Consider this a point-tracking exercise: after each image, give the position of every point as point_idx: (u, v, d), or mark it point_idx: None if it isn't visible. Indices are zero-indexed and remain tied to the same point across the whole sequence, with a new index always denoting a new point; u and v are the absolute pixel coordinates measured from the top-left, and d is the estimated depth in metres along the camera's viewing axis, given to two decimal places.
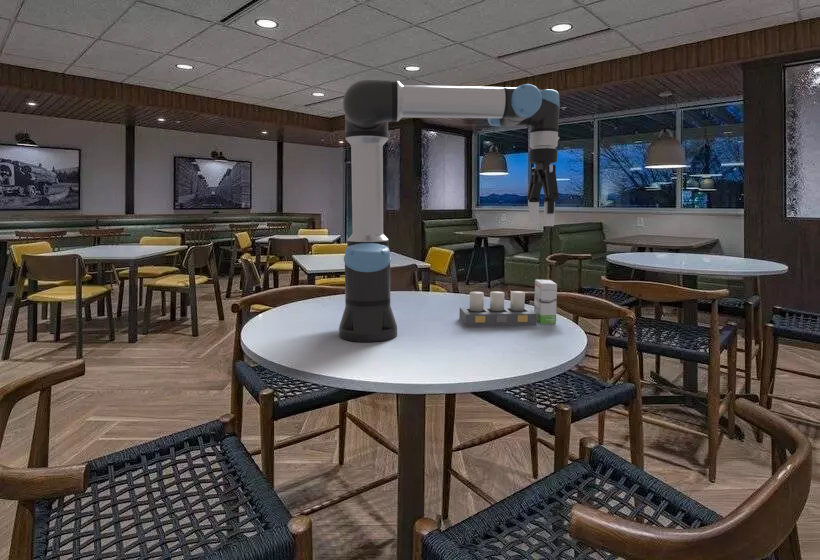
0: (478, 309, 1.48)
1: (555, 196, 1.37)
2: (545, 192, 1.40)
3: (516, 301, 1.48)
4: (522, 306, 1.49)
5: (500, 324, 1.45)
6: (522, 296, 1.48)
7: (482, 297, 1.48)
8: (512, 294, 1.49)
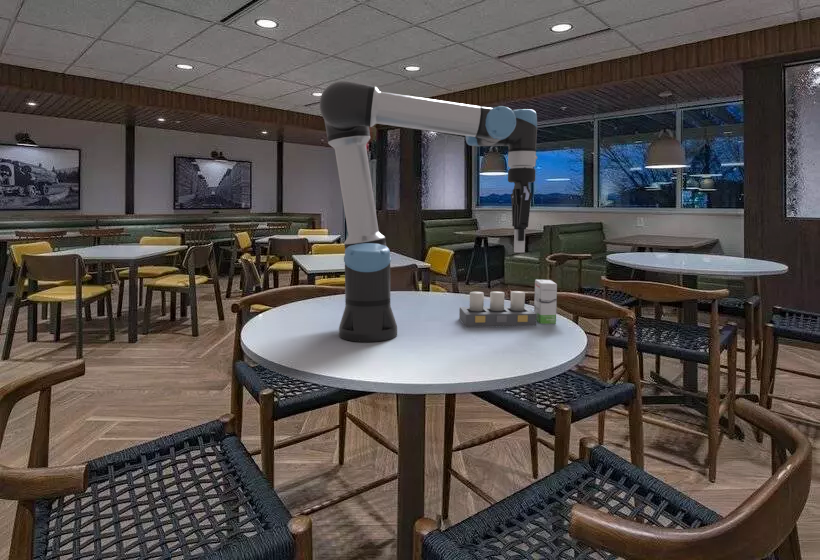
0: (478, 309, 1.48)
1: (525, 226, 1.44)
2: (517, 219, 1.45)
3: (516, 301, 1.48)
4: (522, 306, 1.49)
5: (500, 324, 1.45)
6: (522, 296, 1.48)
7: (482, 297, 1.48)
8: (512, 294, 1.49)
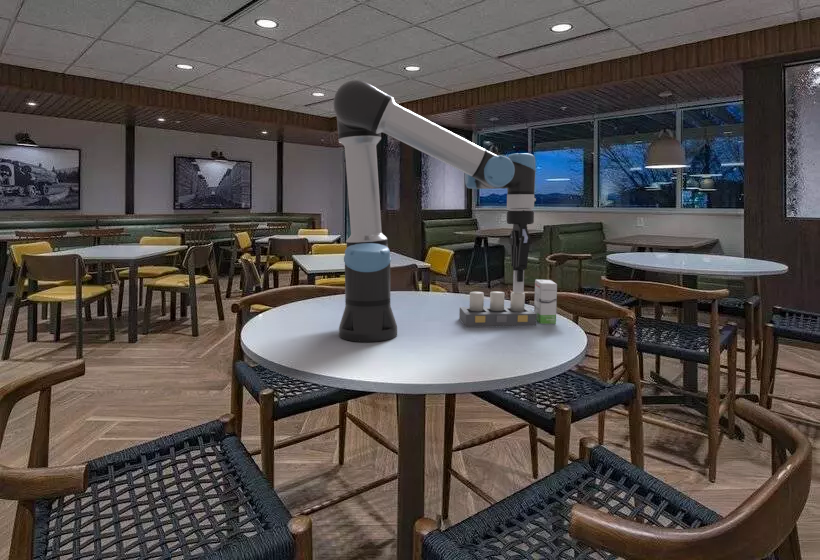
0: (478, 309, 1.48)
1: (523, 268, 1.45)
2: (516, 260, 1.47)
3: (516, 302, 1.48)
4: (522, 307, 1.49)
5: (500, 324, 1.45)
6: (522, 297, 1.48)
7: (482, 297, 1.48)
8: (512, 295, 1.49)
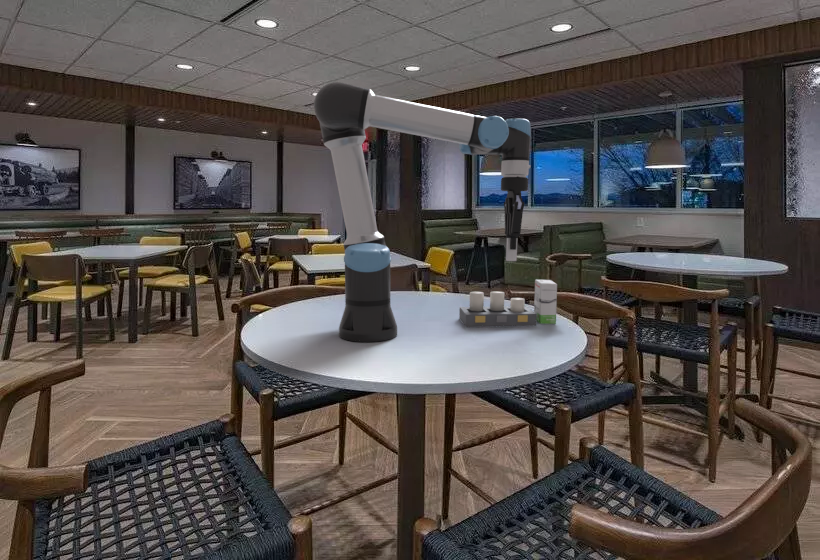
0: (478, 309, 1.48)
1: (517, 235, 1.44)
2: (509, 228, 1.45)
3: (516, 308, 1.48)
4: None
5: (500, 324, 1.45)
6: (522, 303, 1.48)
7: (482, 297, 1.48)
8: (512, 301, 1.49)
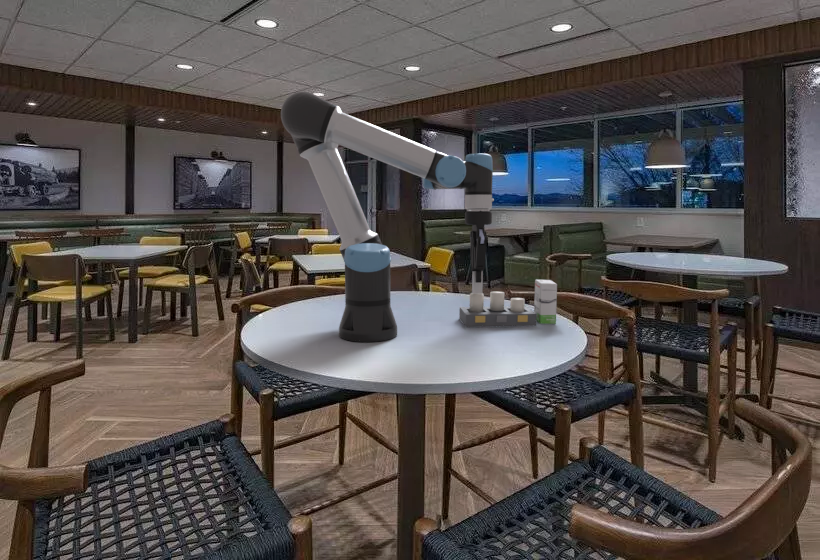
0: (478, 310, 1.48)
1: (481, 268, 1.44)
2: (474, 261, 1.46)
3: (516, 308, 1.48)
4: None
5: (500, 324, 1.45)
6: (522, 303, 1.48)
7: (482, 298, 1.48)
8: (512, 301, 1.49)
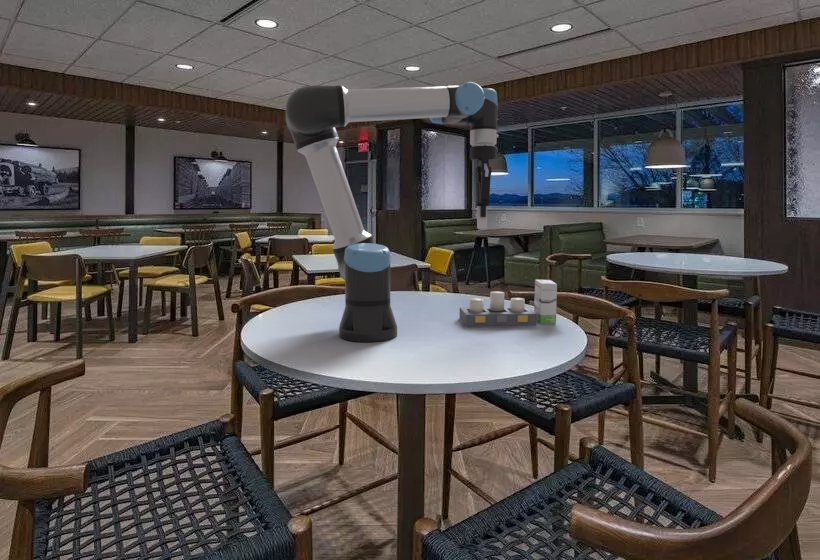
0: None
1: (486, 202, 1.48)
2: (479, 196, 1.49)
3: (516, 308, 1.48)
4: None
5: (500, 324, 1.45)
6: (522, 303, 1.48)
7: (482, 304, 1.48)
8: (512, 301, 1.49)
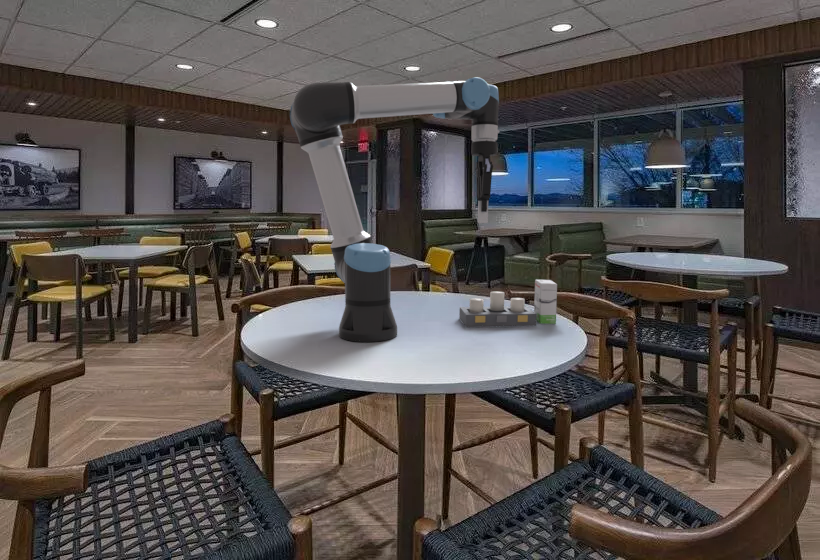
0: None
1: (487, 197, 1.50)
2: (480, 191, 1.51)
3: (516, 308, 1.48)
4: None
5: (500, 324, 1.45)
6: (522, 303, 1.48)
7: (482, 304, 1.48)
8: (512, 301, 1.49)
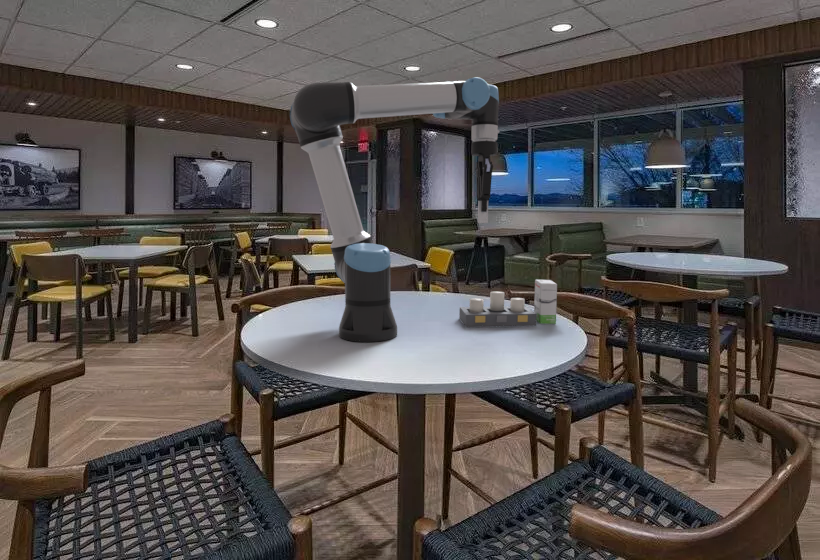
0: None
1: (487, 197, 1.50)
2: (480, 191, 1.51)
3: (516, 308, 1.48)
4: None
5: (500, 324, 1.45)
6: (522, 303, 1.48)
7: (482, 304, 1.48)
8: (512, 301, 1.49)
